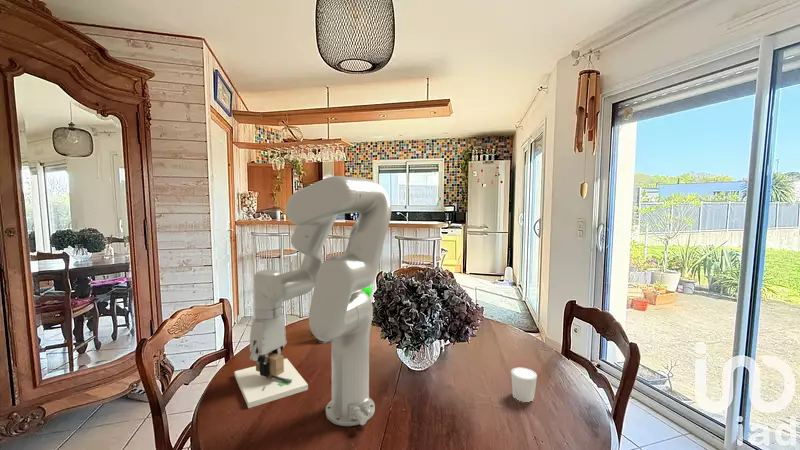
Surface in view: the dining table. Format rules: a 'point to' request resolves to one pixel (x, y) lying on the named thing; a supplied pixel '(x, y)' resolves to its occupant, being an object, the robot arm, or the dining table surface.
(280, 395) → the board
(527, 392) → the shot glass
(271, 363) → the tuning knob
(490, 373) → the dining table surface
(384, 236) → the robot arm
